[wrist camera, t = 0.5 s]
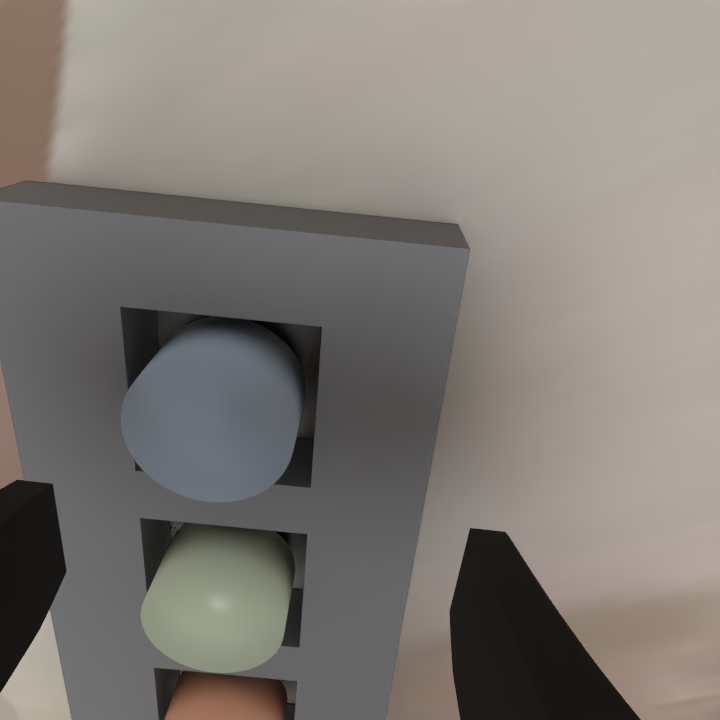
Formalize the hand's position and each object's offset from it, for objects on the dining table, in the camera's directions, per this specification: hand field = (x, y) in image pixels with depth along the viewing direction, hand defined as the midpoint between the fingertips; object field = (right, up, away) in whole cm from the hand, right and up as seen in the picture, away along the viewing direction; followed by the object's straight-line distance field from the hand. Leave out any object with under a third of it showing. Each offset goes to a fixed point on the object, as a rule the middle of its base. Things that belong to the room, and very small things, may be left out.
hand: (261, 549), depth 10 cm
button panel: (-3, -3, +11) cm, 12 cm away
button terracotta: (-3, -10, +13) cm, 17 cm away
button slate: (-2, +3, +7) cm, 8 cm away
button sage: (-3, -4, +10) cm, 11 cm away
